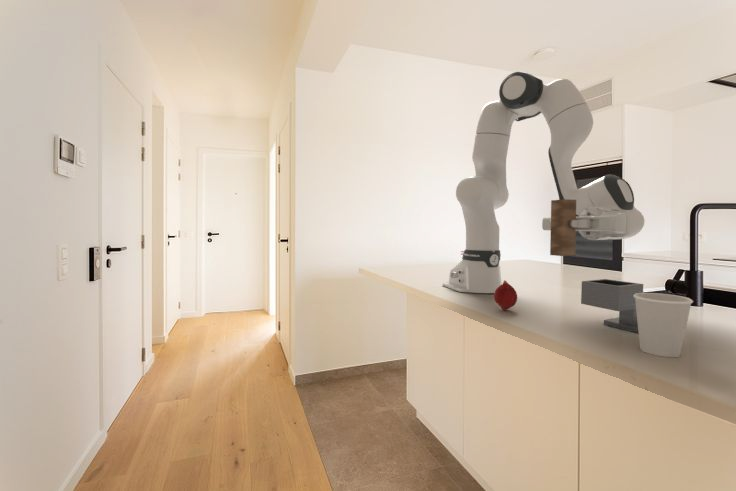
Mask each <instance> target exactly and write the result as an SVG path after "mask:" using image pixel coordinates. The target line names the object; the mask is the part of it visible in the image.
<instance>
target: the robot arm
mask: <svg viewBox="0 0 736 491" xmlns="http://www.w3.org/2000/svg"><path fill="white" fill-rule="evenodd" d="M498 95H499V100H494V101H490V102H488V103H486V104H485V105H484V106H483V107H482V110H481V111H480V112H481V113H480V115H479V119H478V122H477V126H476V131H475V137H474V144H473V151H472V162H473V165H474V170H475V175H473V176H472V175H471V176H468V177H466V178H463V179H461V181H460V182H459V183H458V184H457V186H456V188H455V196H456V200H457V201H458V202H459V204H460V206H461V210H462V214H463V220H464V223H465V249H464V250H462V251H460V255H462V258H461V259H462V260H460V262H458V263H457V264H456V265H455V266H453V267H452V268H451V269H450V272H449V278H448V279H449V280H448V281H446V282H443V283H442V286H443V287H446V288H449V289H451V290H454V291H457V292H460V293H475V294H494V293H495V291H496V289H497V288H498V287H499V286H500V285H502V284H503V282H502V272H501V266H500V261H501V256H502V254H501V250H500V226H499V224H498V221H497V218H496V214H495V213H496V212H495V210H497V209H500V208H502V207H504V206H505V205H506V203H507V202H508V200H509V195H510V194H509V190H508V187H507V185H508V184H507V156H508V150H509V146H510V145H509V144H510V137H511V132H512V126H513V124H514V122H522V121H525V120H527V119H531V118H532V119H533V118H535V117H537V116H539V115H541V114H542V115H543V117H544V119H545V121H546V124H547V125H548V128H549V132H550V146H549V147H548V152H547V153H548V159H549V162H550V163H549V164H550V167H551V171H552V175H553V179H554V182H555V188H556V190H557V194H558V200H563V199H570V200H576V220H569V221H568V223H569V224H568V227H576V232H577V231H578V233H579V234H580V236H582V237H583V238H584V239H586V240H589V241H599V240H600V241H604V240H605V241H606V240H623V239H624V240H625V239H628V238H633V237H634V236H636V235H638V234H639V233H640V232H642V229H643V228H644V226H645V217H644V215H643V213H642V212H641V211H640V210H638V209H637V207H635V196H634V191H633V189H632V187H631V185H630V184H629V183H628V181H626V180H625V179H623V178H622V177H619V176H617V175H614V174H605V175H604V176H601V177H599V178H598V179H596V180H594V181H592V182H590V183H588V184H586V185H584V186H581V187H580V188H578V185H577V182H576V178H575V175H574V171H573V167H572V162H573V158H574V156H575V154H576V152H577V151H578V150H579V148H580V147H581V146H582V145H583V144H584V142H585V141H586V140H587V139H588V138H589V135H590V134H591V132H592V130H593V125H594V117H593V114H592V112H591V109H590V108H589V105H588V104H587V101H586V100H585V98H584V96H583V95H582V93H581V92H580V90H579V89H578V88H577V87H576V85H575V84H574V83H573V81H571V80H570V79H567V78H560V79H556V80H553V81H551V82H550V83H548V84H544V81H543V80H542V79H541V78H538V77H536V76H534V75H533V74H531V73H528V72H526V71H516V72H511V73H510V74H508V75H507V76H505V78H504V79H503V80H502V82H501V84H500V85H499V91H498ZM541 223H542V225H541V226H542V227H541V228H542V230H543V231H551V216H548V217H543V218H542V222H541Z"/></svg>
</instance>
